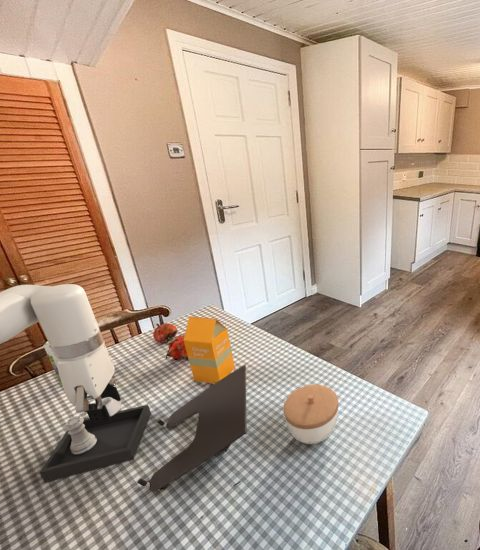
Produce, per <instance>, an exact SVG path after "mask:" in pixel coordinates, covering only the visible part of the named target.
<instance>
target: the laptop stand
mask: <svg viewBox="0 0 480 550" xmlns="http://www.w3.org/2000/svg"><path fill="white" fill-rule="evenodd" d="M197 414H198V419H197V425H196V431H195V435H194V438H193V440H192V442H191V443H190V444H189V445H188V446H187V447H186V448H184V449H183V450H182V451H180V452H179V453H178V454H176V455H175V456H173V457H172V458H171V459H170V460H169V461H168V462H166V463H165V464H163V465H162V466H161V467H160V468H159V469H157V470H156V471H155V472H154V473H153V474H152V475H151V478H150V481H149V482H148V481H147V480H146V479H143V478H139V479H138V480H137V484H138V485H140V486H141V487H143V488H146V489H149V491H150V492H152V493H153V492H158V490H159V491H165V490H167V488H168V487H169V485H170V484H171V483H173V482H175V481H177V480H178V479H179V478H182V477H183V476H185V475H187V474H188V473H189V472H191V471H193V470H194V469H196V468H197V467H199V466H200V465H202V464H203V463H205V462H206V461H208V460H210V459H211V458H212V457H214V456H215V455H217V454H218V453H221V451H223V450H224V453H227V451H228V450H229V448H230V447H231V445H232V444H233V443H234V442H236V441H237V440H238V439H241V437H243V436H244V435H247V434H248V433H247V431H248V430H247V428H248V427H247V426H248V425H247V365H246V364H244V365H242V366H241V367H239V368H237V369H235V370H233V371H232V372H231V373H230V374H229V375H228V376H226V377H224V378H223V379H221V380H220V381H218V382H217V383H213V384H212V385H210V386H209V387H207V388H206V389H204V390H203V391H202V392H200V393H199V394H197V395H195V396H194V397H193V398H191V399H190V400H189V401H187V402H186V403H185V404H183V405H181V406H180V407H178V408H177V409H176V410H174V412H173V413H172V414H171V415H170V417H169V418H168V420H167V423H166V422H165V421H163V420H162V419H158V420H157V421H156V423H157V424H159V426H161V427H163V428H166V429H170V428H172V427H174V426H176V425H179V424H180V423H182V422H184V421H185V420H187V419H190V418H191V417H193V416H194V415H197Z"/></svg>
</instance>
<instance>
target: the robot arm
mask: <svg viewBox="0 0 480 550" xmlns="http://www.w3.org/2000/svg"><path fill="white" fill-rule="evenodd" d="M37 323H39V324H40V326H41V329H42V331H43V333H44V335H45V337H46V339H47V342H49V344H50V346H51V348H52V350H53V352H54V354H55V357H56V359H57V360H59V361H58V363H57V364H58V371H59V375H60V379H61V382H62V385H63V386H62V385H61V386H62V387H63V391H64V393H65V396H66V399H67V400H68V402H69V403H70V404H75V412H76V413H82V412H83V413H86V414H87V416H88V418H90V421H91V423H92V424H97V423H101V422H106V421H109V420H110V418H111V417H110V415H109V413H108V410H107V408H106V405H102V400H101V399H103V398H107V397H111V398H113V399H115V400H117V401H119V402H120V401H121V399H122V398H121V395H120V392H119V391H118V388H117V386H116V385H117V381H116V380H115V379H114V377H115V371H116V368H115V364H114V361H113V358H112V356H111V355H110V352H109V350H108V348H107V346H106V345H105V344H106V342H105V339H104V336H103V335H102V332H101V329H100V327H99V324H98V322H97V319H96V317H95V314H94V311H93V309H92V305H91V303H90V301H89V298H88V296H87V293H86V290H85V289H84V288H83V287H82V286H81V285H78V284H74V283H64V284H57V285H53V286H52V285H51V286H49V285H39V284H38V285H37V284H19V285H14V286H12V287H9V288H7V289H4V290H3V291H1V292H0V345H1V344H3V343H6V342H8V341H9V340H11V339H12V338H14V337H16V336H17V335H19V334H20V333H22V332H23V331H25V330H26V329H28V328H29V327H31V326H33V325H35V324H37ZM91 400H94V403H93V402H92V403H90V401H91Z"/></svg>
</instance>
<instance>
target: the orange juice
mask: <svg viewBox="0 0 480 550" xmlns="http://www.w3.org/2000/svg"><path fill="white" fill-rule="evenodd" d="M184 333H185V337H184V344H185V348H186V351H187V355H188V357H187V359H188V363H189V367H190V370H191V374H192V378H193V381H194V382H198V383H200V382H201V383H209V384H215V383H217V382H218V381H220V380H221V379H223V378H224V377H226V376H228V375H229V374H231V373H232V372H234V369H236V368H235V361H234V356H233V350H232V346H231V342H230V336H229V331H228V328H227V327H226V326H225V325H224V324H223V323H221V322H220V321H219V320H218V319H217V318H210V317H199V316H188V318H187V324H186V328H185V332H184Z"/></svg>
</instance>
